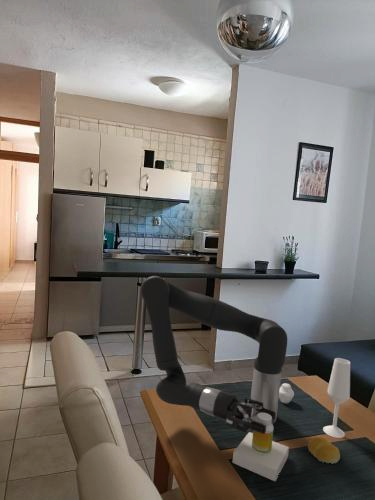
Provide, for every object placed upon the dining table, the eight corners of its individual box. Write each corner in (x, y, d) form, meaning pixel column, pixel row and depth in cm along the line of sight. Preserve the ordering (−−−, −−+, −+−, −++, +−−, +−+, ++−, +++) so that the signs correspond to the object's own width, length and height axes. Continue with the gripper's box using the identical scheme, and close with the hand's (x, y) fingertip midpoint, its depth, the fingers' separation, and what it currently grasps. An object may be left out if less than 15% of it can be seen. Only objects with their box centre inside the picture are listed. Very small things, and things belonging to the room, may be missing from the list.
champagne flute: (340, 440, 113) (349, 366, 111) (319, 430, 118) (328, 360, 116) (347, 432, 118) (356, 361, 116) (327, 423, 123) (335, 355, 121)
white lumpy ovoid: (284, 406, 132) (286, 388, 131) (273, 398, 137) (274, 381, 137) (296, 403, 135) (298, 385, 134) (284, 396, 140) (286, 378, 140)
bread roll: (323, 467, 100) (325, 454, 99) (302, 448, 108) (304, 435, 108) (346, 462, 103) (348, 449, 102) (324, 443, 111) (325, 431, 111)
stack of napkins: (248, 441, 109) (249, 431, 108) (287, 457, 103) (288, 447, 102) (232, 462, 98) (233, 452, 98) (275, 481, 92) (276, 470, 92)
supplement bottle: (271, 457, 97) (275, 423, 96) (251, 453, 98) (254, 419, 97) (270, 445, 102) (274, 413, 102) (251, 441, 103) (255, 409, 103)
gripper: (207, 400, 100) (263, 421, 92) (228, 383, 113) (279, 399, 105) (205, 426, 101) (260, 448, 93) (226, 406, 113) (276, 424, 105)
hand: (270, 422), depth 99 cm, fingers open, 8 cm apart
